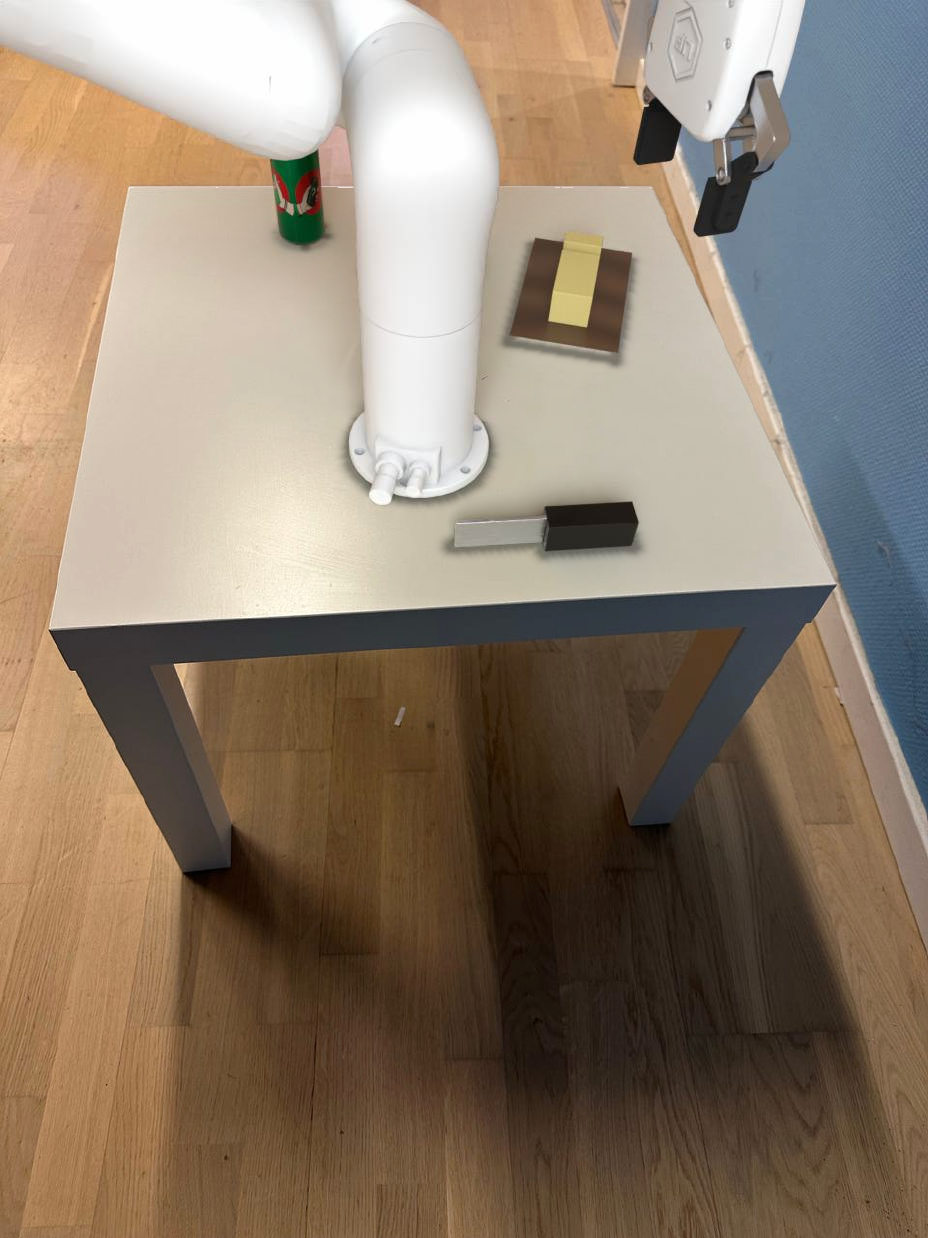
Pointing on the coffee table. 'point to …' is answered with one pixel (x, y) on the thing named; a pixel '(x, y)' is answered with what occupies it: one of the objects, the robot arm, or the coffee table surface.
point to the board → (604, 305)
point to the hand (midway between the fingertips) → (682, 195)
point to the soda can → (299, 199)
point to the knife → (556, 528)
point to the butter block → (574, 288)
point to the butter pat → (583, 243)
